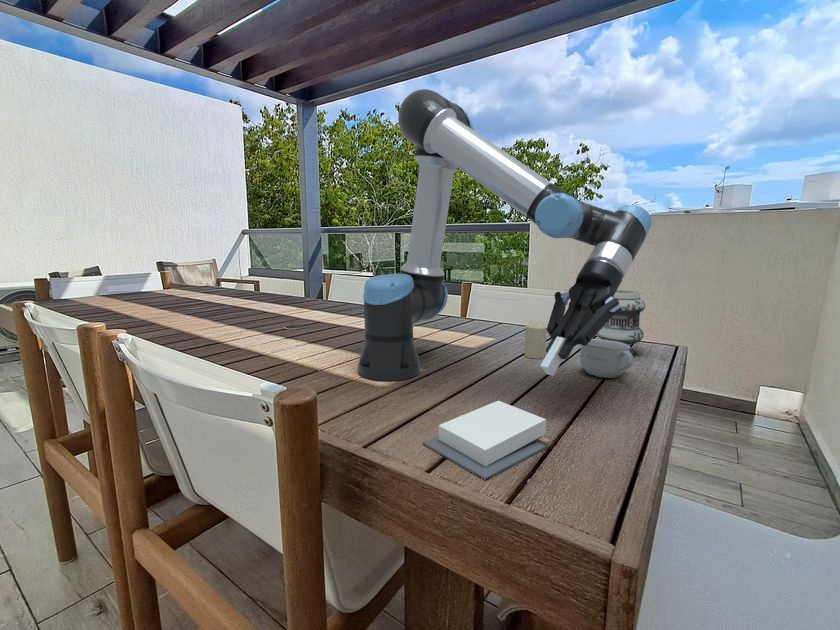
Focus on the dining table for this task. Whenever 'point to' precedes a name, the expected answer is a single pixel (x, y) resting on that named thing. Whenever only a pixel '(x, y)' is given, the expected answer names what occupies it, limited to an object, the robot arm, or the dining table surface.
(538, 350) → the candle
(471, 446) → the tile
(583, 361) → the teacup
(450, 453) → the mat
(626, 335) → the apothecary jar
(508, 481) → the dining table surface
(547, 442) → the oak strip
